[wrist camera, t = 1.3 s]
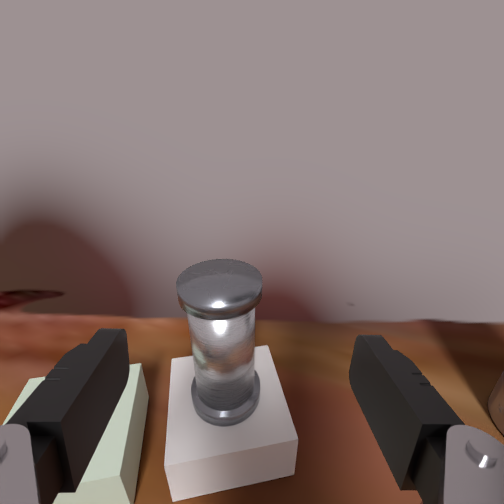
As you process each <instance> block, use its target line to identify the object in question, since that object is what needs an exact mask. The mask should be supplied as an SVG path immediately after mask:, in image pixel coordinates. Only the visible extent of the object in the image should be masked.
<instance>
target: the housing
mask: <svg viewBox="0 0 504 504" xmlns="http://www.w3.org/2000/svg"><path fill="white" fill-rule="evenodd" d="M176 288H177V295H178V301H179V304H180V306H181V308H182V309H183V310H184V311H185V312H186V313H187V314H188V322H189V330H190V338H191V346H192V354H193V362H194V370H195V377H194V378H193V381H192V385H191V395H192V402H193V407H194V409H195V411H196V413H197V415H198V416H199V417H200V418H201V419H202V420H204V421H205V422H207V423H209V424H211V425H215V426H220V427H226V426H233V425H236V424H239V423H241V422H243V421H245V420H246V419H247V418H249V417H250V416H251V415H252V414H253V412H254V411H255V409H256V408H257V406H258V403H259V400H260V379H259V376H258V374H257V372H256V370H255V307H256V306H257V305H258V304H259V302H260V300H261V297H262V276H261V274H260V272H259V271H258V270H257V269H256V268H255V267H254V266H252V265H250V264H248V263H245V262H242V261H238V260H232V259H216V260H208V261H204V262H200V263H197V264H195V265H193V266H191V267H189V268H187V269H186V270H184V271H183V272H182V273H181V274H180V275H179V277H178V279H177V282H176Z"/></svg>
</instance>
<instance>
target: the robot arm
mask: <svg viewBox="0 0 504 504" xmlns="http://www.w3.org/2000/svg"><path fill="white" fill-rule="evenodd" d="M129 371H130V365H129V354H128V344H127V334H126V331H125V329H104V328H101V329H99V330H98V331H97V332H96V333H95V335H94V336H93V337H92V338H91V340H90V341H89V342H88V344H80V345H78V346H77V347H75V348H74V349H72V350H71V351H69V352H68V353H66V354H65V355H64V356H63V357H62V358H61V359H60V361H59V362H58V363H57V364H56V365H55V367H54V369H52V370H51V371H50V372H49V374H48V375H47V376H46V377H45V380H43V381H42V382H41V383H40V384H39V385H38V386H37V388H36V389H35V390H34V391H33V392H32V393H31V395H30V396H29V397H28V398H27V399H26V401H25V402H24V403H23V404H22V405H21V406H20V408H19V409H18V410H17V411H16V412H15V413H14V415H13V416H12V417H11V418H10V419H9V420H8V422H7V423H6V424H5V425H1V426H0V504H53V502H54V500H55V498H56V497H57V495H58V493H75V492H76V490H77V488H78V486H79V484H80V482H81V480H82V478H83V475H84V473H85V471H86V469H87V467H88V465H89V463H90V461H91V459H92V457H93V454H94V452H95V450H96V448H97V446H98V444H99V442H100V440H101V438H102V436H103V434H104V431H105V429H106V427H107V425H108V423H109V421H110V419H111V417H112V415H113V413H114V410H115V408H116V406H117V404H118V402H119V400H120V398H121V396H122V394H123V392H124V389H125V387H126V385H127V382H128V378H129ZM349 379H350V385H351V388H352V390H353V393H354V395H355V397H356V399H357V401H358V403H359V405H360V407H361V409H362V411H363V413H364V415H365V417H366V420H367V422H368V424H369V426H370V428H371V430H372V432H373V434H374V436H375V438H376V440H377V442H378V445H379V447H380V449H381V451H382V453H383V455H384V457H385V459H386V461H387V463H388V465H389V467H390V470H391V472H392V474H393V476H394V478H395V480H396V482H397V484H398V486H399V488H400V490H417V491H418V493H419V495H420V497H421V499H422V501H421V503H420V504H504V445H503V444H501V443H500V442H499V441H498V440H496V439H495V438H494V437H492V436H490V435H489V434H487V433H485V432H483V431H481V430H479V429H477V428H474V427H471V426H466V425H465V424H464V423H463V422H462V421H461V419H460V418H459V417H458V416H457V415H456V413H455V412H454V411H453V410H452V409H451V407H450V406H449V405H448V404H447V403H446V401H445V400H444V399H443V398H442V397H441V395H440V394H439V393H438V392H437V391H436V389H435V388H434V387H433V386H431V385H430V382H429V381H428V380H427V379H426V377H425V376H424V375H422V373H421V371H420V370H419V369H418V368H417V366H416V365H415V364H414V363H413V362H412V361H411V360H410V359H409V358H407V357H406V356H404V355H403V354H402V353H400V352H399V351H398V350H393V349H392V348H391V346H390V345H389V344H388V343H387V341H386V340H385V339H384V338H383V337H382V336H381V335H358V336H357V338H356V341H355V345H354V350H353V355H352V360H351V365H350V370H349ZM488 410H489V413H490V415H491V418H492V420H493V421H494V423H495V424H496V426H497V428H498V429H499V430H500V431H501V433H502V434H503V435H504V371H503V372H502V374H501V376H500V378H499V380H498V382H497V383H496V385H495V387H494V389H493V391H492V392H491V394H490V396H489V399H488Z"/></svg>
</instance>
